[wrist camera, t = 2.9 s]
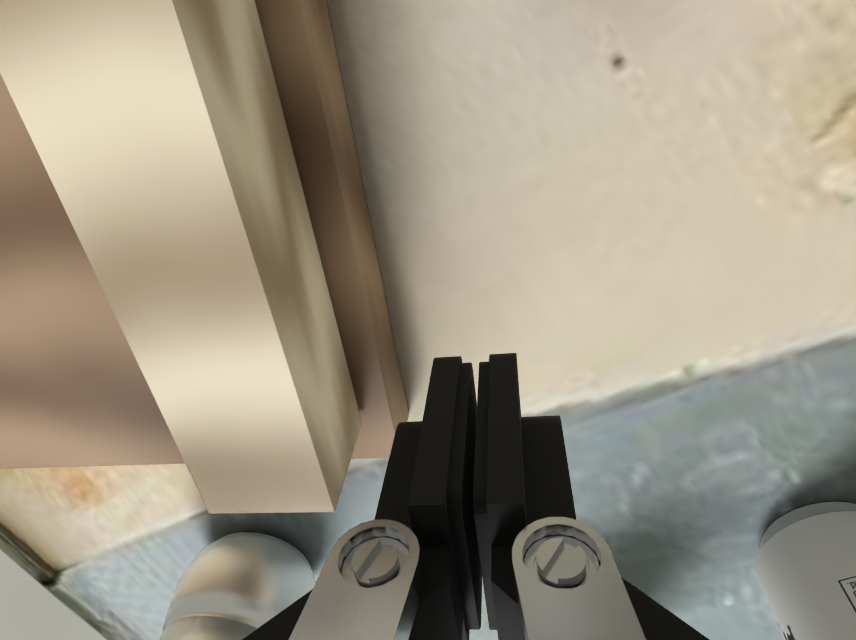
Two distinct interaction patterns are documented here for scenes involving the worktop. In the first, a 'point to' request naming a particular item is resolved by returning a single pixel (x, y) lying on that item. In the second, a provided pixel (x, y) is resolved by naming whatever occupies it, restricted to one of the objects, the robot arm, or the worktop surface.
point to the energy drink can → (811, 571)
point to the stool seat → (96, 322)
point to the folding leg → (194, 233)
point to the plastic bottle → (236, 587)
